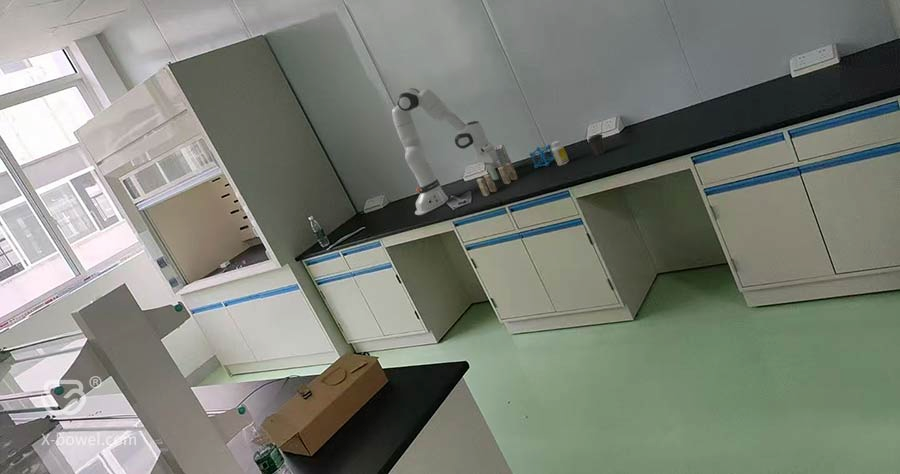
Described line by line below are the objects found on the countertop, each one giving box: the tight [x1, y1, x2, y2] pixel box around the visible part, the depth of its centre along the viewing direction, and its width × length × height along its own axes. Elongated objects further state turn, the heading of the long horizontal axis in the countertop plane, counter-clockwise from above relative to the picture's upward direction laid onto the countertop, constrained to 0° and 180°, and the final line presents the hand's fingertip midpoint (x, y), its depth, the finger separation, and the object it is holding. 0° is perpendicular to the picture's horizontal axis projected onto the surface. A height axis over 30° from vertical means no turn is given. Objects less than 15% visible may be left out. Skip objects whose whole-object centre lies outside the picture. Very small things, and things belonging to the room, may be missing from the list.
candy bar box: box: [494, 143, 512, 173], centre depth 388 cm, size 11×5×16 cm, turn 168°
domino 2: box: [483, 173, 498, 193], centre depth 363 cm, size 2×5×10 cm, turn 25°
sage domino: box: [485, 163, 499, 181], centre depth 378 cm, size 2×5×10 cm, turn 24°
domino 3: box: [497, 166, 512, 185], centre depth 366 cm, size 2×5×10 cm, turn 24°
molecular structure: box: [529, 144, 556, 169], centre depth 368 cm, size 10×10×10 cm
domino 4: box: [505, 162, 519, 181], centre depth 367 cm, size 2×5×10 cm, turn 24°
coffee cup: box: [587, 133, 606, 156], centre depth 339 cm, size 8×8×10 cm
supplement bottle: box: [550, 140, 570, 167], centre depth 352 cm, size 7×7×13 cm
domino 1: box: [476, 177, 491, 197], centre depth 361 cm, size 2×5×10 cm, turn 24°
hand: (491, 168), depth 378 cm, fingers closed on sage domino, 5 cm apart
